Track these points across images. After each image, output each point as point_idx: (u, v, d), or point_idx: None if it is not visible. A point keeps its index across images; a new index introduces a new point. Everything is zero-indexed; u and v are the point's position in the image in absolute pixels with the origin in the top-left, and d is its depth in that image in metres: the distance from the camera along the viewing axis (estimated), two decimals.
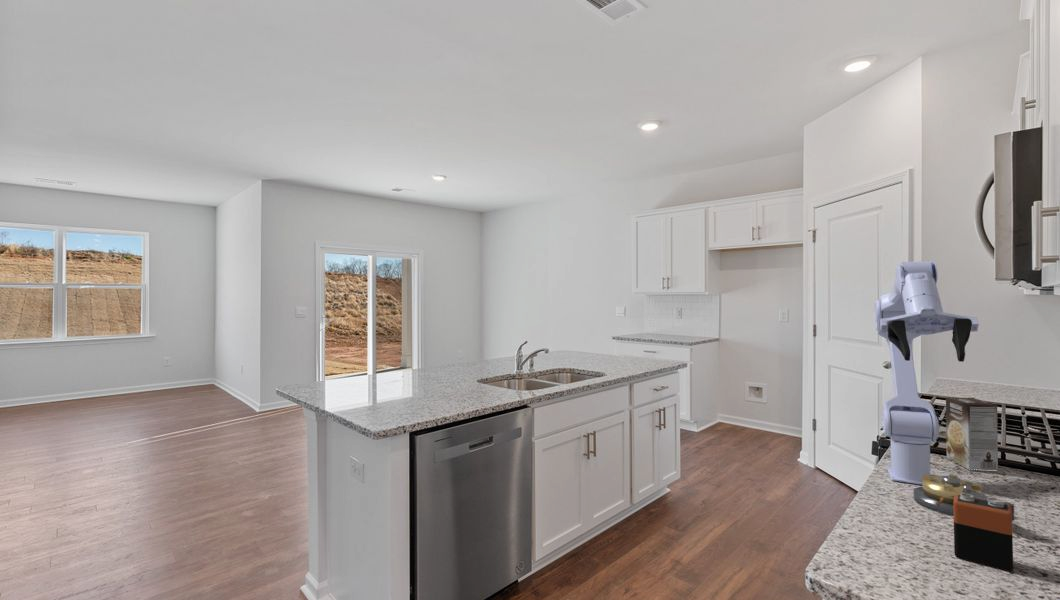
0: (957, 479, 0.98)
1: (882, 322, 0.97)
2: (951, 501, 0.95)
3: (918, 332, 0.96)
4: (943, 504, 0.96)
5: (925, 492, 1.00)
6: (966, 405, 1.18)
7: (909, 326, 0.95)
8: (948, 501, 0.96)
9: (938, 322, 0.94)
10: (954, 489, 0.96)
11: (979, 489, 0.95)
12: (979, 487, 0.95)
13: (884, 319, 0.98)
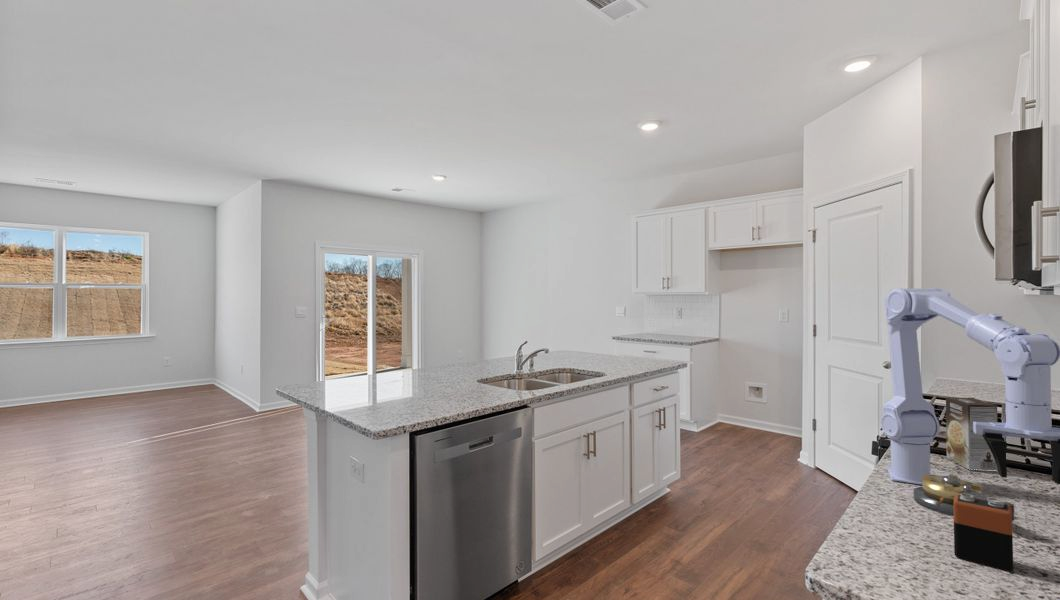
0: (957, 479, 0.98)
1: (977, 430, 0.90)
2: (951, 501, 0.95)
3: None
4: (943, 504, 0.96)
5: (925, 492, 1.00)
6: (966, 405, 1.18)
7: (1007, 434, 0.88)
8: (948, 501, 0.96)
9: None
10: (954, 489, 0.96)
11: (979, 489, 0.95)
12: (979, 487, 0.95)
13: (980, 426, 0.90)
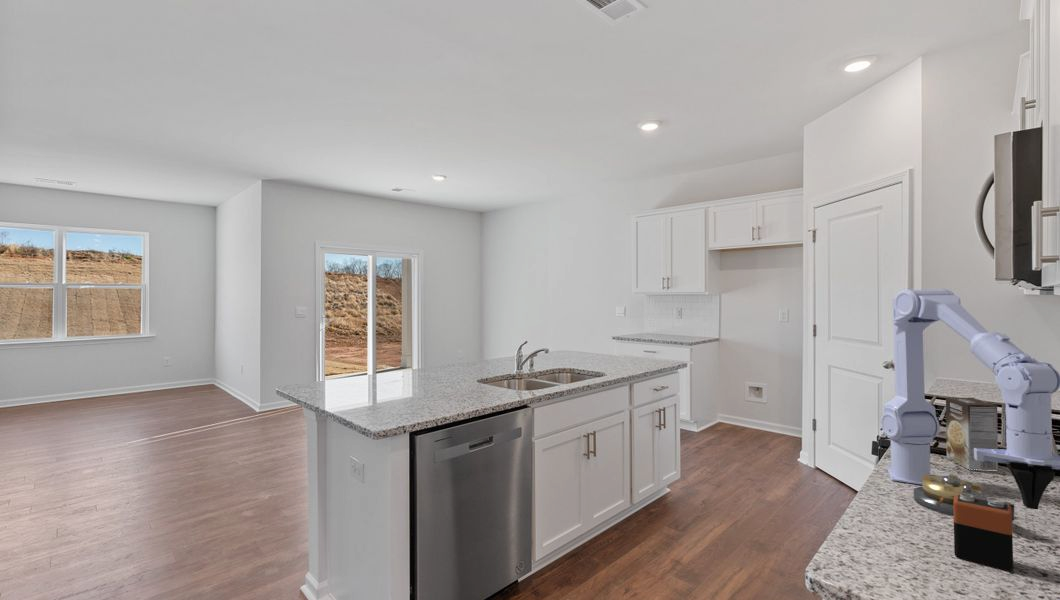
0: (957, 479, 0.98)
1: (978, 457, 0.90)
2: (951, 501, 0.95)
3: None
4: (943, 504, 0.96)
5: (925, 492, 1.00)
6: (966, 405, 1.18)
7: (1008, 462, 0.88)
8: (948, 501, 0.96)
9: None
10: (954, 489, 0.96)
11: (979, 489, 0.95)
12: (979, 487, 0.95)
13: (981, 453, 0.90)
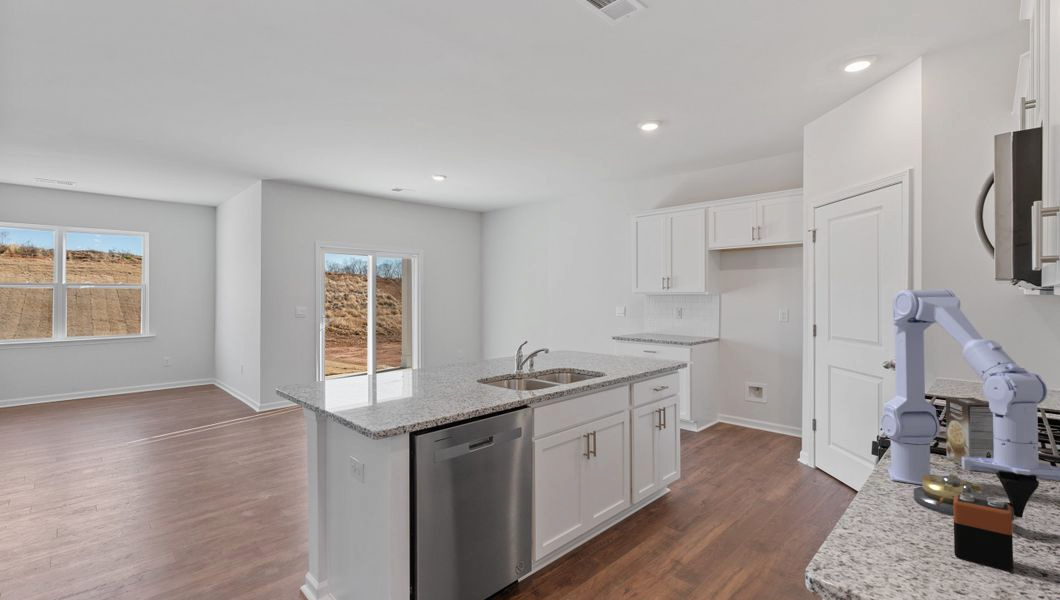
0: (957, 479, 0.98)
1: (965, 465, 0.91)
2: (951, 501, 0.95)
3: None
4: (943, 504, 0.96)
5: (925, 492, 1.00)
6: (966, 405, 1.18)
7: (995, 471, 0.89)
8: (948, 501, 0.96)
9: None
10: (954, 489, 0.96)
11: (979, 489, 0.95)
12: (979, 487, 0.95)
13: (968, 462, 0.91)
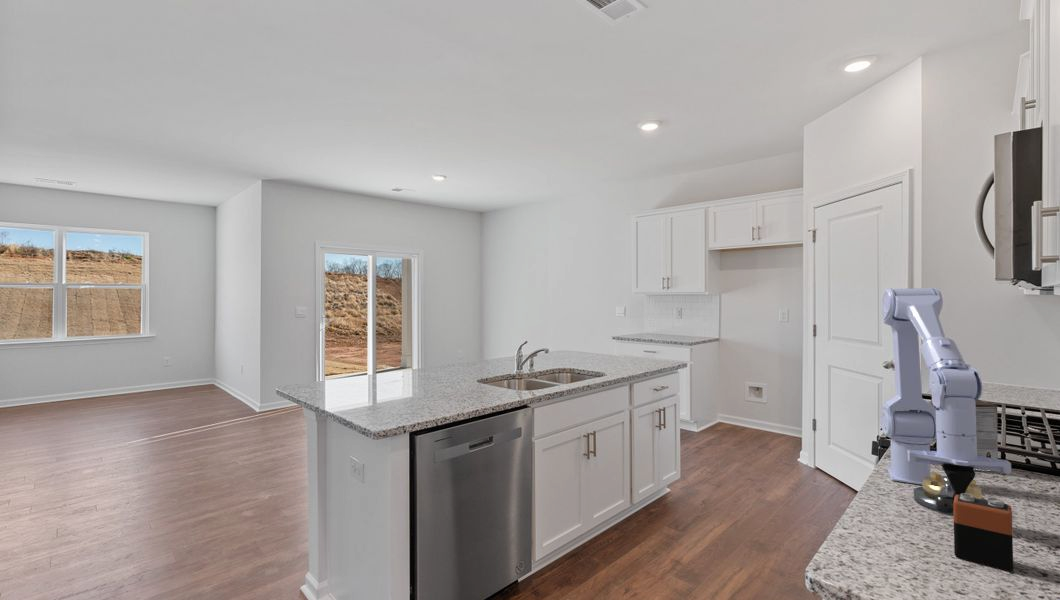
0: None
1: (910, 458, 0.95)
2: (930, 495, 0.98)
3: None
4: None
5: None
6: None
7: (938, 463, 0.93)
8: (928, 495, 0.99)
9: None
10: (939, 486, 0.98)
11: (966, 491, 0.95)
12: None
13: (913, 454, 0.95)
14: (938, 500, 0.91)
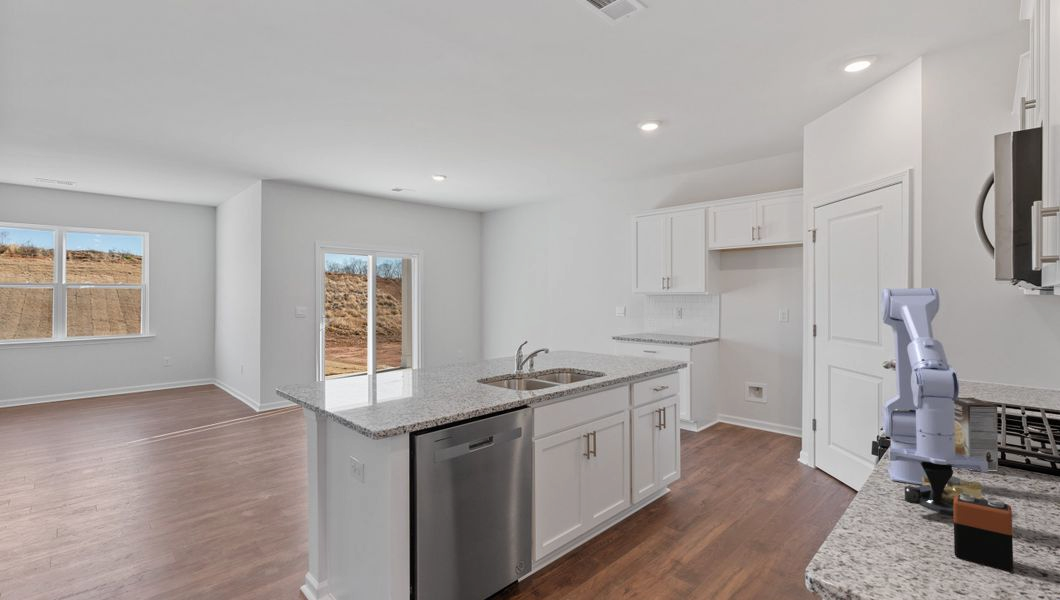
0: (952, 479, 0.98)
1: (891, 456, 0.97)
2: None
3: None
4: (943, 504, 0.96)
5: None
6: (966, 405, 1.18)
7: (917, 461, 0.95)
8: None
9: None
10: None
11: (954, 490, 0.95)
12: (954, 488, 0.95)
13: (893, 453, 0.96)
14: (905, 490, 0.95)
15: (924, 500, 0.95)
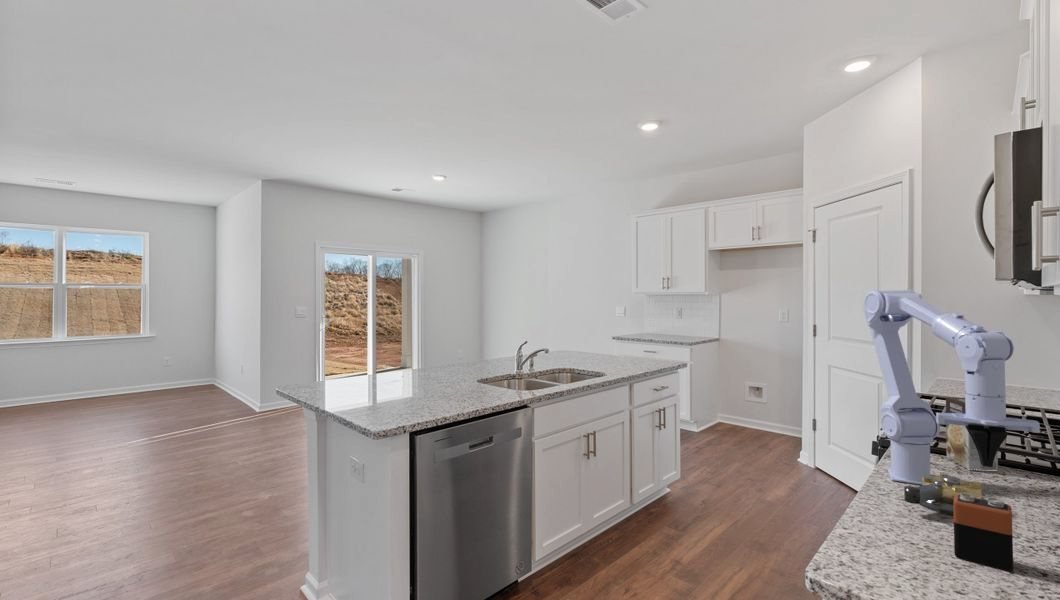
0: (952, 479, 0.98)
1: (939, 420, 0.97)
2: None
3: None
4: (943, 504, 0.96)
5: None
6: None
7: (967, 424, 0.96)
8: None
9: None
10: (932, 483, 0.99)
11: (954, 490, 0.95)
12: (954, 488, 0.95)
13: (942, 416, 0.97)
14: (904, 490, 0.95)
15: (924, 500, 0.95)
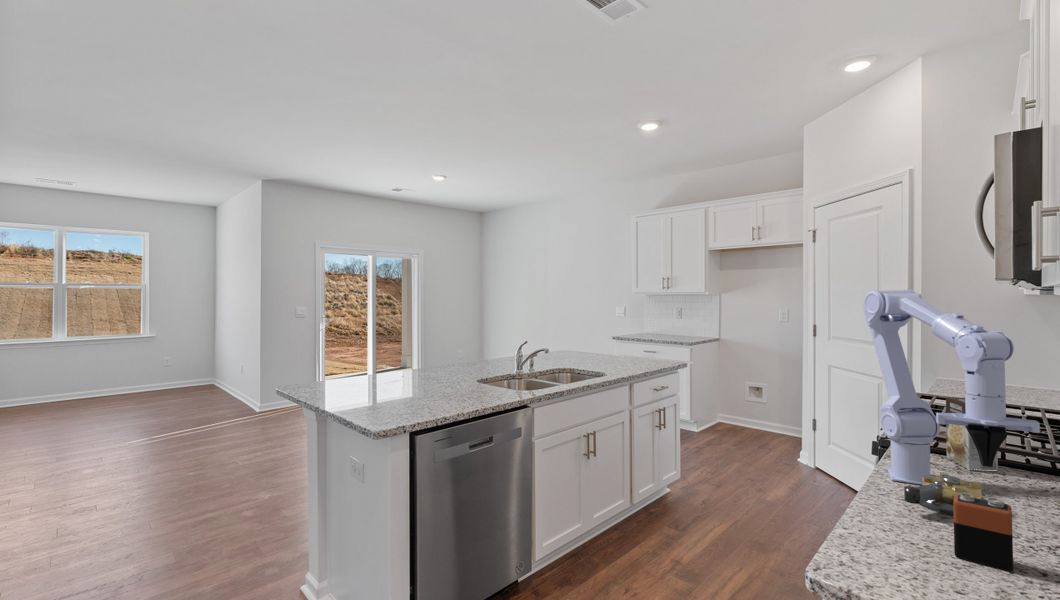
0: (952, 479, 0.98)
1: (939, 420, 0.97)
2: None
3: None
4: (943, 504, 0.96)
5: None
6: None
7: (967, 424, 0.96)
8: None
9: None
10: (932, 483, 0.99)
11: (954, 490, 0.95)
12: (954, 488, 0.95)
13: (942, 416, 0.97)
14: (904, 490, 0.95)
15: (924, 500, 0.95)
